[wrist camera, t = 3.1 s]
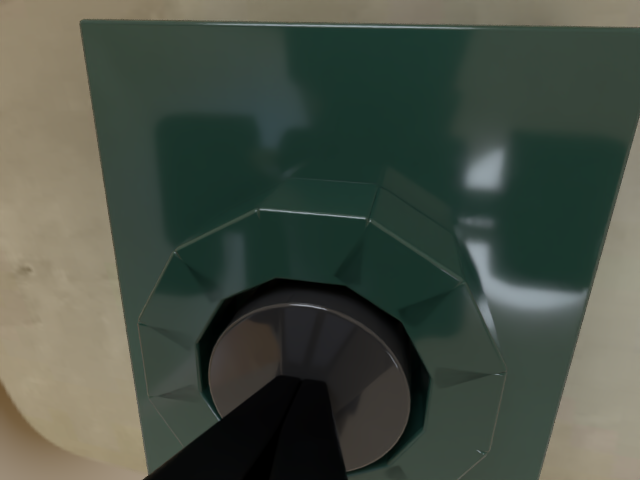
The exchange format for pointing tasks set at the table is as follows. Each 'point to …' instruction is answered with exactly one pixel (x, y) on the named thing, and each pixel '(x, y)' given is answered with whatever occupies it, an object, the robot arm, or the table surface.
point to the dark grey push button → (320, 359)
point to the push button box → (367, 207)
